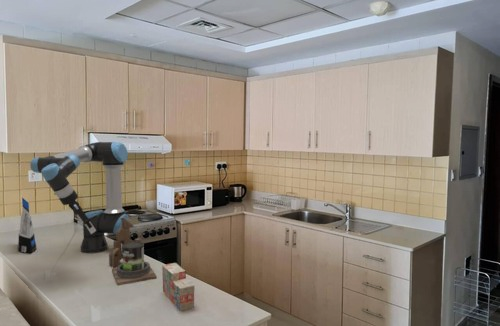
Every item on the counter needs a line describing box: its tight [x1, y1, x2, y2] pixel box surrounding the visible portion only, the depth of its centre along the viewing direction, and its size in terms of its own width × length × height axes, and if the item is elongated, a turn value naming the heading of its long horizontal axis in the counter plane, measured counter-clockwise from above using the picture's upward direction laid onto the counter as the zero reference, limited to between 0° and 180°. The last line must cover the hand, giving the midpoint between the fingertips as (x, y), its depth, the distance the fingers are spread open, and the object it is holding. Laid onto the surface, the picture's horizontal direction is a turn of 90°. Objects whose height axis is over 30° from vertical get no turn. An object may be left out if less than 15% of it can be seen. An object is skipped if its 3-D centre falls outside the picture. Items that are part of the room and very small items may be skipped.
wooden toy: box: [108, 217, 142, 269], centre depth 197 cm, size 15×7×25 cm, turn 130°
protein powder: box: [17, 197, 38, 255], centre depth 221 cm, size 10×24×30 cm, turn 39°
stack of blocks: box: [161, 262, 195, 312], centre depth 155 cm, size 21×6×12 cm, turn 32°
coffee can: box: [121, 241, 145, 271], centre depth 181 cm, size 10×10×14 cm
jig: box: [111, 261, 157, 286], centre depth 182 cm, size 20×18×4 cm
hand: (89, 227), depth 184 cm, fingers open, 13 cm apart
